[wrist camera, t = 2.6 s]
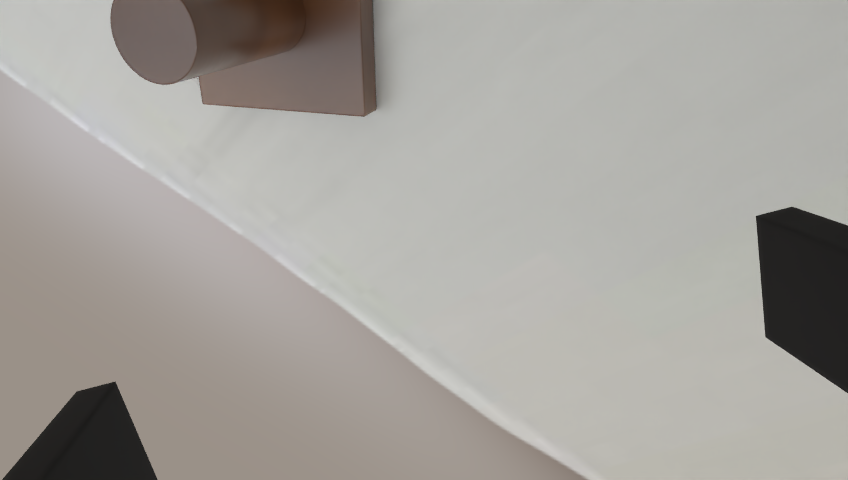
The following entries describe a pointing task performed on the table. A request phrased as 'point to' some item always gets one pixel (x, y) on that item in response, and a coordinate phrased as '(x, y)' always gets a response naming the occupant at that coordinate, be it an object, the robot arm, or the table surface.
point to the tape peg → (255, 51)
